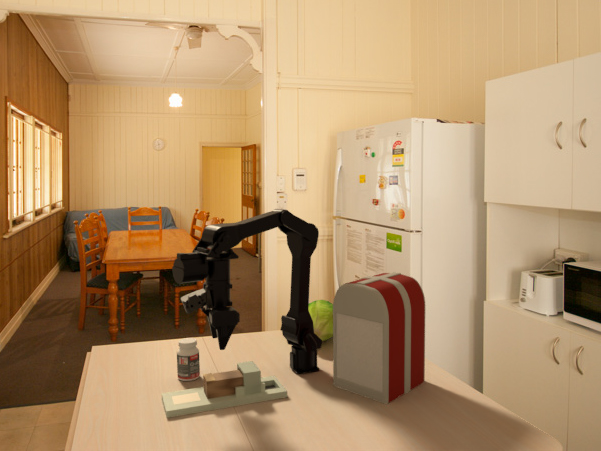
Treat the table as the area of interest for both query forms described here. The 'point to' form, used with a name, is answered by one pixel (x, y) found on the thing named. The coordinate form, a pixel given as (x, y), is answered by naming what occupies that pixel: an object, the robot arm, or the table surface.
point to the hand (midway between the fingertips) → (218, 343)
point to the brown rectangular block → (222, 383)
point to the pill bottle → (188, 360)
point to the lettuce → (322, 318)
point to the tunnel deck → (249, 393)
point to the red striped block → (379, 336)
